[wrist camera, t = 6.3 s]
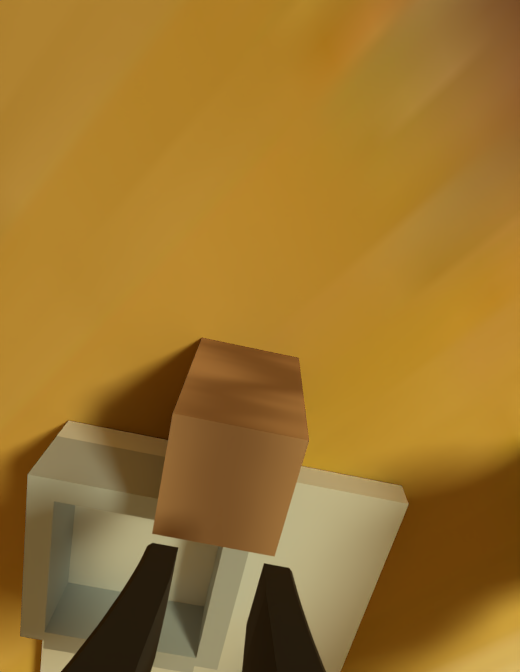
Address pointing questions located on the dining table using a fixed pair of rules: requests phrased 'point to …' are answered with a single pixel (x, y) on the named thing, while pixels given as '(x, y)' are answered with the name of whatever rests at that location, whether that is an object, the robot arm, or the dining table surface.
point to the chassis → (189, 554)
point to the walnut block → (233, 449)
